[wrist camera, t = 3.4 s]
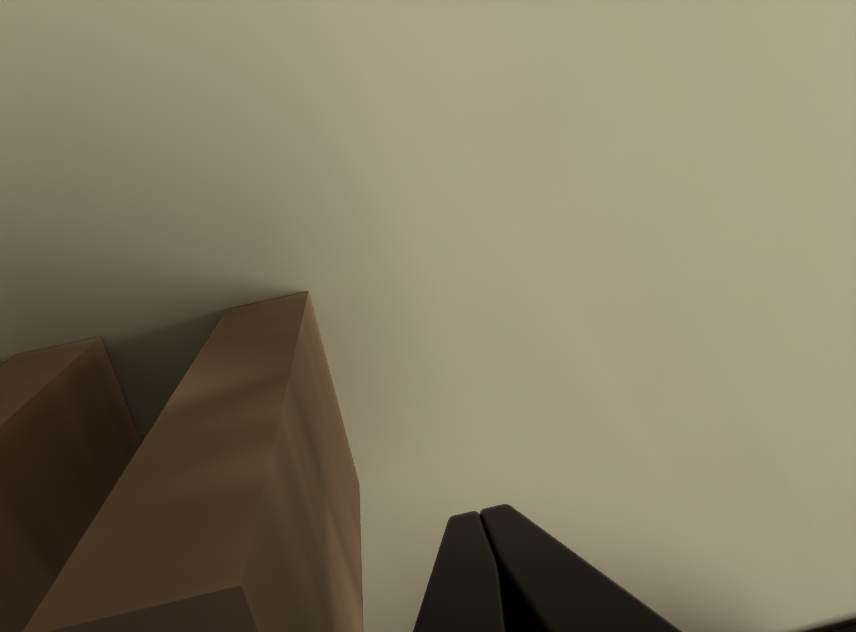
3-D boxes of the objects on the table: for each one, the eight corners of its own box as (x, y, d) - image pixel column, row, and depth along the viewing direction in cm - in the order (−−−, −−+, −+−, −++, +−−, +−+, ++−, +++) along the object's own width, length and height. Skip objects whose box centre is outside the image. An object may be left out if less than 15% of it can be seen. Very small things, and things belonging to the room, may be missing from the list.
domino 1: (308, 291, 14) (240, 584, 5) (359, 485, 15) (372, 953, 7) (226, 309, 14) (18, 639, 5) (286, 501, 15) (205, 999, 7)
